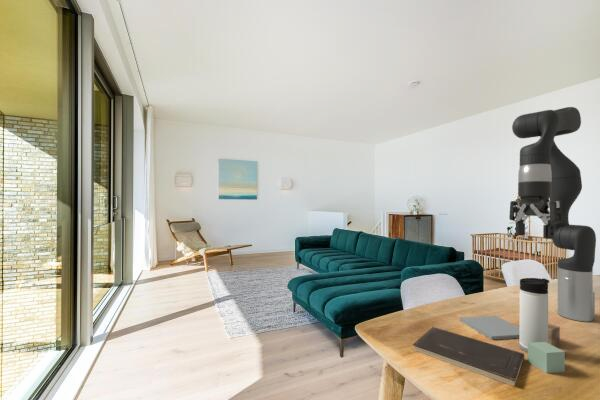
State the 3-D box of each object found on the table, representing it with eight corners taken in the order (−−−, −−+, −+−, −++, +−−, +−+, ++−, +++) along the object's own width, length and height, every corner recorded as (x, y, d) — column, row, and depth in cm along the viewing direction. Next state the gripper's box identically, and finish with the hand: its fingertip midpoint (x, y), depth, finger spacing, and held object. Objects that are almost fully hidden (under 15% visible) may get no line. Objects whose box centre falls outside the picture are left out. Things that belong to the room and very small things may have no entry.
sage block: (544, 360, 75) (545, 341, 75) (564, 372, 70) (564, 351, 70) (527, 362, 75) (527, 342, 75) (546, 373, 70) (546, 352, 70)
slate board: (495, 318, 102) (495, 315, 102) (532, 337, 88) (532, 333, 88) (459, 320, 100) (459, 317, 100) (491, 339, 86) (491, 336, 86)
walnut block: (539, 336, 89) (539, 320, 89) (559, 343, 84) (559, 326, 84) (530, 340, 87) (530, 323, 87) (551, 347, 82) (551, 330, 82)
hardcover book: (515, 390, 64) (515, 379, 64) (412, 352, 80) (412, 344, 80) (524, 361, 76) (524, 352, 76) (433, 333, 92) (433, 326, 92)
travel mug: (555, 357, 77) (555, 282, 77) (527, 354, 78) (527, 281, 78) (540, 346, 83) (540, 276, 83) (514, 343, 84) (515, 275, 84)
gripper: (571, 179, 77) (570, 240, 77) (524, 183, 91) (523, 234, 91) (546, 178, 76) (545, 239, 76) (502, 182, 90) (501, 234, 90)
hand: (533, 236), depth 83 cm, fingers open, 8 cm apart
